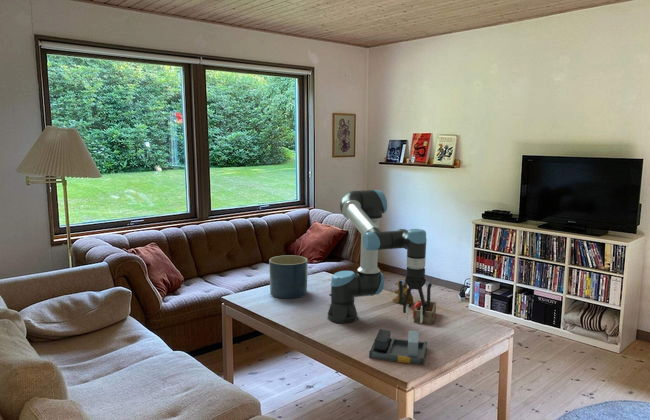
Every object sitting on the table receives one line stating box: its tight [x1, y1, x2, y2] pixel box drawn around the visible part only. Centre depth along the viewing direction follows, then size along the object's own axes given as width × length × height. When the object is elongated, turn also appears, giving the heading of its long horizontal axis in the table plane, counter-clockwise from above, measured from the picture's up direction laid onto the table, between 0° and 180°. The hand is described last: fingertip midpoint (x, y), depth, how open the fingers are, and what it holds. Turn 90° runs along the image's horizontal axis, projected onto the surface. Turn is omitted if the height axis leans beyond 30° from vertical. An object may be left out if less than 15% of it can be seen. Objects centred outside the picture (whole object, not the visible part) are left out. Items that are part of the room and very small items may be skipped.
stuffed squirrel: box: [392, 278, 415, 306], centre depth 271 cm, size 10×14×13 cm
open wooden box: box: [413, 299, 437, 325], centre depth 250 cm, size 9×16×6 cm, turn 164°
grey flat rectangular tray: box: [368, 328, 428, 366], centre depth 208 cm, size 22×18×7 cm
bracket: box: [412, 302, 437, 319], centre depth 250 cm, size 12×4×8 cm, turn 120°
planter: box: [268, 254, 309, 300], centre depth 286 cm, size 22×22×20 cm
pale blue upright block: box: [407, 330, 420, 357], centre depth 207 cm, size 4×12×7 cm, turn 168°
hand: (414, 321), depth 205 cm, fingers open, 5 cm apart
